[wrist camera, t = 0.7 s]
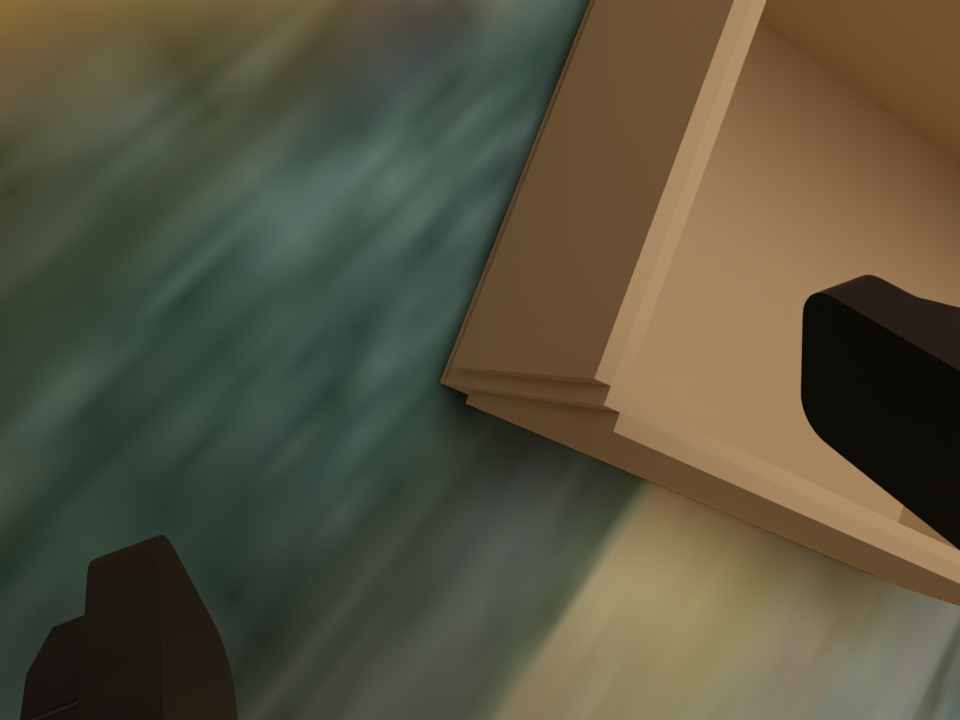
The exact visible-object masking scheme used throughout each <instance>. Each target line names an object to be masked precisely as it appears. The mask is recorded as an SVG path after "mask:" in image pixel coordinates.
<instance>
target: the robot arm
mask: <svg viewBox="0 0 960 720" xmlns="http://www.w3.org/2000/svg"><path fill="white" fill-rule="evenodd" d="M801 402H802V407H803V410H804V413H805V416H806V418H807V420H808V422H809V424H810V425H811V427H812V429H813V430H814V431H815V433H816V434H817V435H818V436H819V437H820V439H822V440H823V441H824V442H825V443H826V444H827V445H829V446H830V447H831V448H832V449H834V450H835V451H836V452H837V453H839V454H840V455H841V456H842V457H844V458H845V459H846V460H847V461H849V462H850V463H851V464H852V465H854V466H855V467H856V468H857V469H859V470H860V471H861V472H862V473H864V474H865V475H866V476H867V477H869V478H870V479H871V480H872V481H874V482H875V483H876V484H877V485H879V486H880V487H881V488H882V489H884V490H885V491H886V492H887V493H889V494H890V495H891V496H892V497H894V498H895V499H896V500H897V501H899V502H900V503H901V504H902V505H904V506H905V507H906V508H907V509H909V510H910V511H911V512H912V513H914V514H915V515H916V516H917V517H919V518H920V519H921V520H922V521H924V522H925V523H926V524H927V525H929V526H930V527H931V528H932V529H934V530H935V531H936V532H937V533H939V534H940V535H941V536H942V537H944V538H945V539H946V540H947V541H949V542H950V543H951V544H952V545H954V546H955V547H956V548H957V549H959V550H960V307H956V306H952V305H948V304H944V303H940V302H936V301H932V300H928V299H923V298H919V297H916V296H914V295H912V294H910V293H908V292H906V291H904V290H902V289H900V288H899V287H897V286H895V285H893V284H891V283H889V282H887V281H885V280H883V279H881V278H879V277H877V276H874V275H863V276H860V277H857V278H855V279H852V280H849V281H846V282H844V283H841V284H838V285H836V286H833V287H830V288H828V289H825V290H822V291H820V292H817V293H814V294H812V295H811V296H809V297H808V299H807V300H806V302H805V304H804V308H803V316H802V358H801ZM20 720H238V719H237V711H236V703H235V695H234V687H233V680H232V674H231V670H230V666H229V662H228V658H227V655H226V652H225V649H224V646H223V643H222V640H221V638H220V635H219V633H218V631H217V628H216V626H215V624H214V622H213V621H212V619H211V617H210V615H209V613H208V611H207V609H206V607H205V606H204V604H203V602H202V600H201V598H200V596H199V594H198V592H197V591H196V589H195V587H194V585H193V583H192V581H191V579H190V577H189V576H188V574H187V572H186V570H185V568H184V566H183V564H182V563H181V561H180V559H179V557H178V555H177V553H176V551H175V549H174V548H173V546H172V544H171V543H170V541H169V540H168V539H167V538H166V537H165V536H164V535H158V536H156V537H153V538H150V539H148V540H145V541H142V542H140V543H137V544H134V545H132V546H129V547H126V548H123V549H121V550H118V551H115V552H113V553H110V554H107V555H105V556H102V557H99V558H97V559H94V560H92V561H91V562H90V564H89V567H88V573H87V588H86V602H85V615H84V616H81V617H78V618H76V619H73V620H71V621H68V622H65V623H63V624H60V625H58V626H55V627H53V628H52V630H51V631H50V633H49V635H48V637H47V639H46V640H45V642H44V644H43V646H42V648H41V649H40V651H39V653H38V655H37V656H36V658H35V660H34V662H33V664H32V665H31V667H30V669H29V671H28V673H27V674H26V680H25V687H24V695H23V702H22V709H21V716H20Z"/></svg>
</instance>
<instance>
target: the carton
mask: <svg viewBox="0 0 960 720" xmlns="http://www.w3.org/2000/svg"><path fill="white" fill-rule="evenodd" d="M863 275H874V276H877V277H879V278H881V279H883V280H885V281H887V282H889V283H891V284H893V285H895V286H897V287H899V288H900V289H902V290H904V291H906V292H908V293H910V294H912V295H914V296H916V297H919V298H923V299H928V300H932V301H936V302H940V303H944V304H948V305H952V306H956V307H960V0H590V2H589V4H588V7H587V9H586V12H585V15H584V17H583V20H582V22H581V25H580V27H579V30H578V32H577V35H576V37H575V40H574V42H573V45H572V48H571V50H570V53H569V55H568V58H567V60H566V63H565V65H564V68H563V70H562V73H561V75H560V78H559V81H558V83H557V86H556V88H555V91H554V93H553V96H552V98H551V101H550V103H549V106H548V109H547V111H546V114H545V116H544V119H543V121H542V124H541V126H540V129H539V131H538V134H537V136H536V139H535V142H534V144H533V147H532V149H531V152H530V154H529V157H528V159H527V162H526V164H525V167H524V169H523V172H522V175H521V177H520V180H519V182H518V185H517V187H516V190H515V192H514V195H513V197H512V200H511V202H510V205H509V208H508V210H507V213H506V215H505V218H504V220H503V223H502V225H501V228H500V230H499V233H498V235H497V238H496V241H495V243H494V246H493V248H492V251H491V253H490V256H489V258H488V261H487V263H486V266H485V269H484V271H483V274H482V276H481V279H480V281H479V284H478V286H477V289H476V291H475V294H474V296H473V299H472V302H471V304H470V307H469V309H468V312H467V314H466V317H465V319H464V322H463V324H462V327H461V329H460V332H459V335H458V337H457V340H456V342H455V345H454V347H453V350H452V352H451V355H450V357H449V360H448V362H447V365H446V368H445V370H444V373H443V375H442V378H441V380H440V383H442V384H444V385H446V386H449V387H451V388H453V389H456V390H458V391H461V392H463V393H465V394H468V395H469V396H468V398H467V401H466V404H468V405H470V406H473V407H475V408H477V409H480V410H482V411H485V412H487V413H489V414H492V415H494V416H496V417H499V418H501V419H504V420H506V421H508V422H511V423H513V424H515V425H518V426H520V427H523V428H525V429H527V430H530V431H532V432H534V433H537V434H539V435H542V436H544V437H546V438H549V439H551V440H553V441H556V442H558V443H561V444H563V445H565V446H568V447H570V448H572V449H575V450H577V451H580V452H582V453H584V454H587V455H589V456H591V457H594V458H596V459H599V460H601V461H603V462H606V463H608V464H610V465H613V466H615V467H618V468H620V469H622V470H625V471H627V472H629V473H632V474H634V475H637V476H639V477H641V478H644V479H646V480H648V481H651V482H653V483H656V484H658V485H660V486H663V487H665V488H667V489H670V490H672V491H675V492H677V493H679V494H682V495H684V496H686V497H689V498H691V499H694V500H696V501H698V502H701V503H703V504H705V505H708V506H710V507H713V508H715V509H717V510H720V511H722V512H725V513H727V514H729V515H732V516H734V517H736V518H739V519H741V520H744V521H746V522H748V523H751V524H753V525H755V526H758V527H760V528H763V529H765V530H767V531H770V532H772V533H774V534H777V535H779V536H782V537H784V538H786V539H789V540H791V541H793V542H796V543H798V544H801V545H803V546H805V547H808V548H810V549H812V550H815V551H817V552H820V553H822V554H824V555H827V556H829V557H831V558H834V559H836V560H839V561H841V562H843V563H846V564H848V565H850V566H853V567H855V568H858V569H860V570H862V571H865V572H867V573H869V574H872V575H874V576H877V577H879V578H881V579H884V580H886V581H888V582H891V583H893V584H896V585H898V586H900V587H903V588H906V589H909V590H912V591H915V592H918V593H921V594H924V595H927V596H930V597H933V598H937V599H940V600H943V601H946V602H949V603H952V604H955V605H958V606H960V550H959V549H957V548H956V547H955V546H954V545H952V544H951V543H950V542H949V541H947V540H946V539H945V538H944V537H942V536H941V535H940V534H939V533H937V532H936V531H935V530H934V529H932V528H931V527H930V526H929V525H927V524H926V523H925V522H924V521H922V520H921V519H920V518H919V517H917V516H916V515H915V514H914V513H912V512H911V511H910V510H909V509H907V508H906V507H905V506H904V505H902V504H901V503H900V502H899V501H897V500H896V499H895V498H894V497H892V496H891V495H890V494H889V493H887V492H886V491H885V490H884V489H882V488H881V487H880V486H879V485H877V484H876V483H875V482H874V481H872V480H871V479H870V478H869V477H867V476H866V475H865V474H864V473H862V472H861V471H860V470H859V469H857V468H856V467H855V466H854V465H852V464H851V463H850V462H849V461H847V460H846V459H845V458H844V457H842V456H841V455H840V454H839V453H837V452H836V451H835V450H834V449H832V448H831V447H830V446H829V445H827V444H826V443H825V442H824V441H823V440H822V439H820V437H819V436H818V435H817V434H816V433H815V431H814V430H813V429H812V427H811V425H810V424H809V422H808V420H807V418H806V416H805V413H804V410H803V407H802V402H801V358H802V316H803V308H804V304H805V302H806V300H807V299H808V297H809V296H811V295H812V294H814V293H817V292H820V291H822V290H825V289H828V288H830V287H833V286H836V285H838V284H841V283H844V282H846V281H849V280H852V279H855V278H857V277H860V276H863Z"/></svg>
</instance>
